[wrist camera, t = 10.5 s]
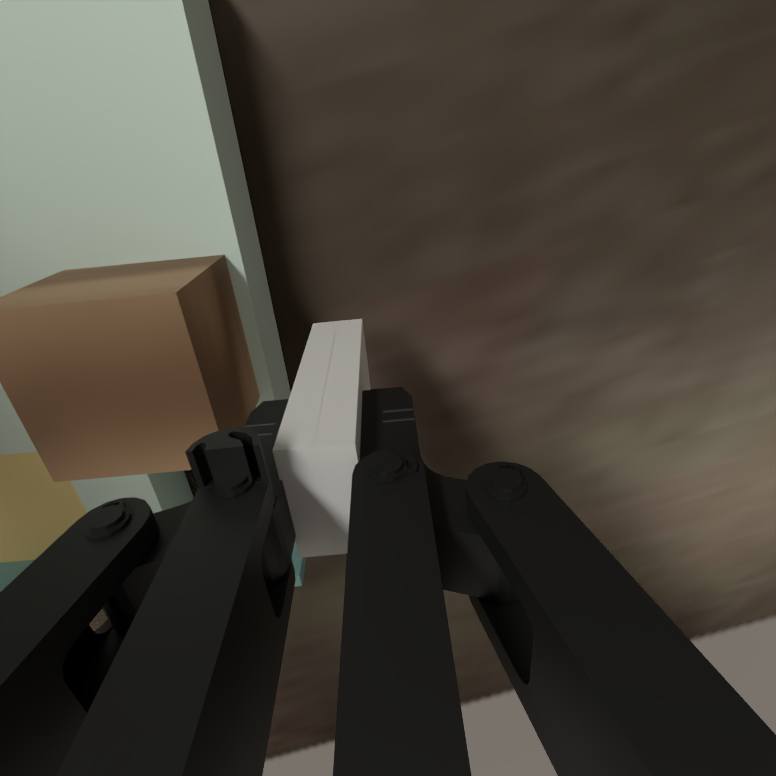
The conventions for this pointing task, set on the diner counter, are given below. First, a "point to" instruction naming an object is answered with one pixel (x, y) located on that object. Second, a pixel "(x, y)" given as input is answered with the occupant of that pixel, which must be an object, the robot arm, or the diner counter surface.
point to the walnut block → (126, 365)
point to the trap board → (116, 205)
